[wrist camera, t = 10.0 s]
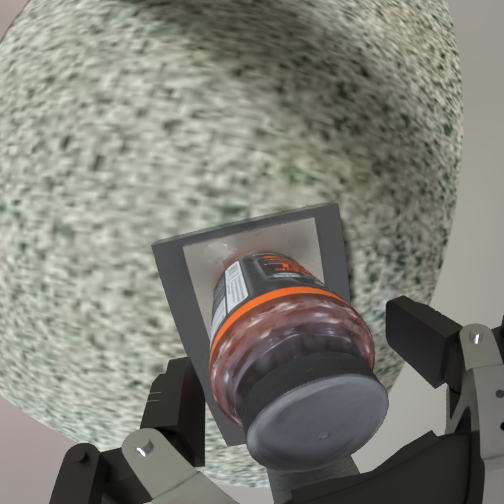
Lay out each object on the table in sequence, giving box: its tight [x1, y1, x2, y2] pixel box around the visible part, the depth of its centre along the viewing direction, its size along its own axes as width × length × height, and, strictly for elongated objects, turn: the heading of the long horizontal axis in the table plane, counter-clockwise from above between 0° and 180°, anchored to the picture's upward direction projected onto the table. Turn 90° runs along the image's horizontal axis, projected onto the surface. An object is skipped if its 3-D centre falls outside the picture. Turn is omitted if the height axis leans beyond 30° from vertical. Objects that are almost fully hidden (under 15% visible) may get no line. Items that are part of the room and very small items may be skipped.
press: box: [151, 203, 360, 504], centre depth 14 cm, size 19×12×12 cm, turn 12°
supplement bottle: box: [209, 251, 389, 473], centre depth 11 cm, size 6×6×11 cm
